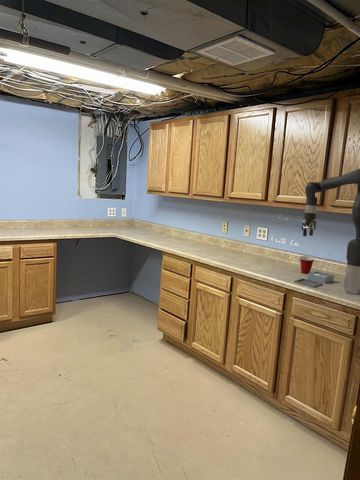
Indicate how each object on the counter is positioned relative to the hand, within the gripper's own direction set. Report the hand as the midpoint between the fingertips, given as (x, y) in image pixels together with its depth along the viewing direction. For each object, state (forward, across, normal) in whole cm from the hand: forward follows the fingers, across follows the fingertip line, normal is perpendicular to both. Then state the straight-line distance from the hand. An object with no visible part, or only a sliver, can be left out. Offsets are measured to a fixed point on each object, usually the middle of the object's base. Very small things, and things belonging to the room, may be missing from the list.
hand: (307, 235), depth 248 cm
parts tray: (+30, -10, -9) cm, 33 cm away
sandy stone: (+28, +7, -12) cm, 31 cm away
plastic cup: (+30, +18, +8) cm, 36 cm away
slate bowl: (+30, +7, -9) cm, 32 cm away
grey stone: (+28, +5, -10) cm, 30 cm away
